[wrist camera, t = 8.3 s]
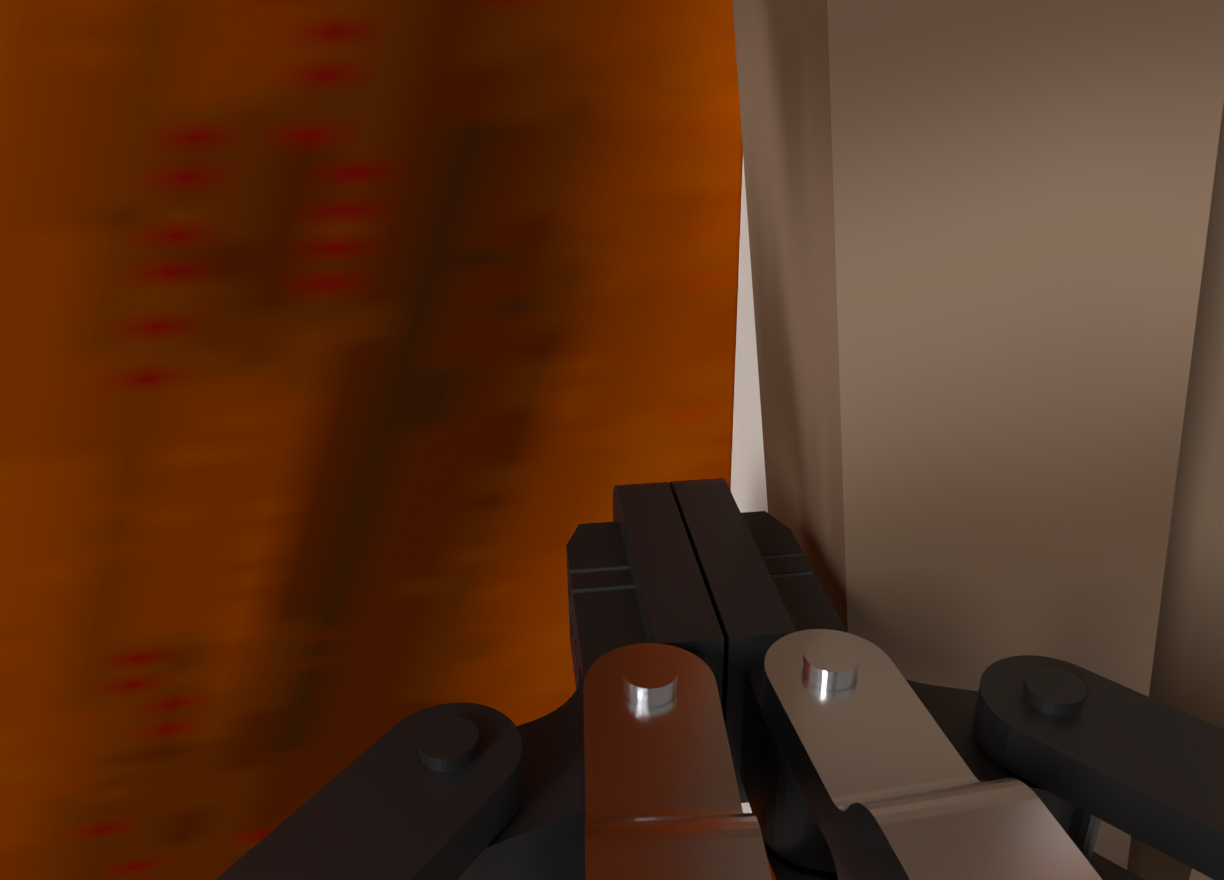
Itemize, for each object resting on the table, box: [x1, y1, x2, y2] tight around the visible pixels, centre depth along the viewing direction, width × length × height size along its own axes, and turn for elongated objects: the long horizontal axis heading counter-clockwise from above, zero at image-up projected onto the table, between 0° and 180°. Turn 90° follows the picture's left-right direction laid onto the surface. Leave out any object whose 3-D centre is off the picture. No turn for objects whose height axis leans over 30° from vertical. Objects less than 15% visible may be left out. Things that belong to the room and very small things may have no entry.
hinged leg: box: [733, 0, 1224, 870], centre depth 14 cm, size 23×4×5 cm, turn 7°
